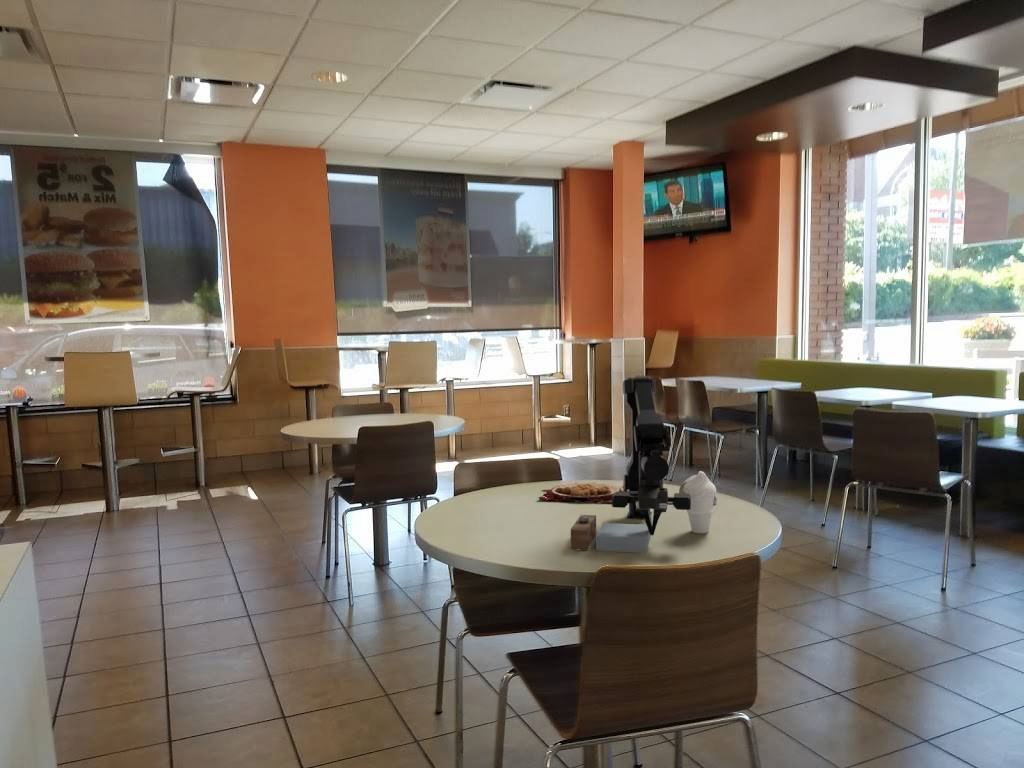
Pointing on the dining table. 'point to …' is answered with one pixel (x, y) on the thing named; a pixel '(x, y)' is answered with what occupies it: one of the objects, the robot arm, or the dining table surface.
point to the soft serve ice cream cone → (700, 502)
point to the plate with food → (582, 492)
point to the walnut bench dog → (583, 532)
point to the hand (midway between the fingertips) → (652, 535)
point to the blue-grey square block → (623, 537)
